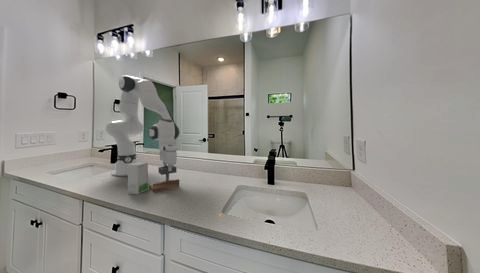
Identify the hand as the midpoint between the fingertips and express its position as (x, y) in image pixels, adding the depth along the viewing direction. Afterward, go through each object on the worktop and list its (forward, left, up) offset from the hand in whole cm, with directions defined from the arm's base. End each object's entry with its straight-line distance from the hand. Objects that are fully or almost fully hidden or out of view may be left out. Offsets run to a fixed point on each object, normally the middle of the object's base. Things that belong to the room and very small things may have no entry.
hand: (167, 169), depth 106 cm
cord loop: (0, 0, -2) cm, 2 cm away
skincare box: (-1, -15, -10) cm, 18 cm away
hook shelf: (0, -2, -10) cm, 10 cm away
